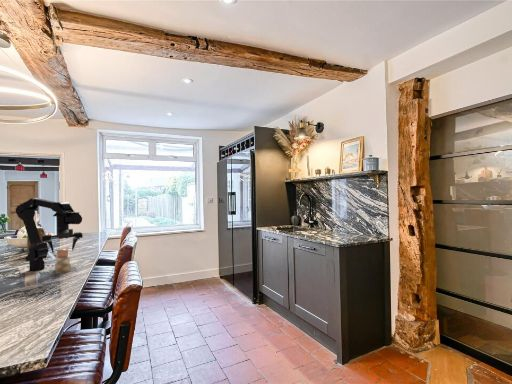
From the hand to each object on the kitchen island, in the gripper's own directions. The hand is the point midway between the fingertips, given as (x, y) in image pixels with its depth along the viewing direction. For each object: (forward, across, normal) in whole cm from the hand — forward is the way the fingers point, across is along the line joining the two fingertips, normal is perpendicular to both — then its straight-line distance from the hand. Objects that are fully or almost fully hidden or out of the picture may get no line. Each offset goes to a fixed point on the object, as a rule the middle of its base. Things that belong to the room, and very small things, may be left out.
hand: (62, 251), depth 161 cm
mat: (+11, 0, 0) cm, 11 cm away
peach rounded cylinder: (+3, 0, 0) cm, 3 cm away
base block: (+11, 0, 0) cm, 11 cm away
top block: (+7, 0, 0) cm, 7 cm away
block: (+11, -12, +63) cm, 65 cm away
